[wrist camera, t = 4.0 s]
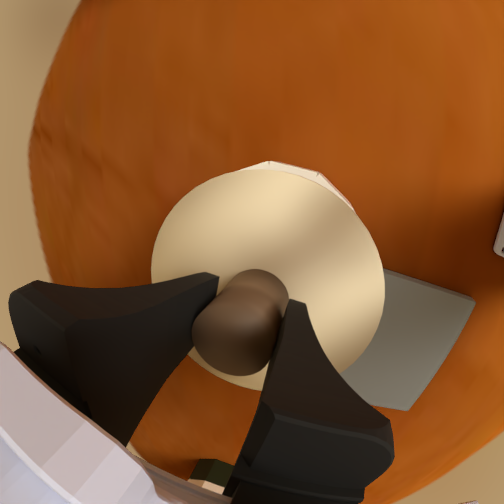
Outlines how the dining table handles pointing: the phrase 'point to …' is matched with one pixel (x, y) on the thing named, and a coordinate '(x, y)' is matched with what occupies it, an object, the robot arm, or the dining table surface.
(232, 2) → the dining table surface
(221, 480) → the wine bottle
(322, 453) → the robot arm
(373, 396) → the mat
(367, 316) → the lid
